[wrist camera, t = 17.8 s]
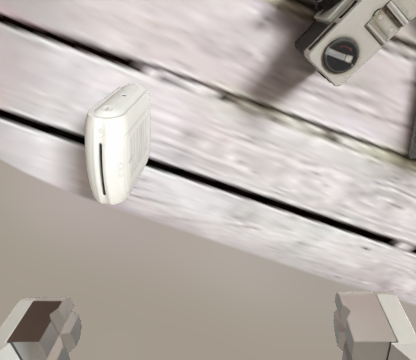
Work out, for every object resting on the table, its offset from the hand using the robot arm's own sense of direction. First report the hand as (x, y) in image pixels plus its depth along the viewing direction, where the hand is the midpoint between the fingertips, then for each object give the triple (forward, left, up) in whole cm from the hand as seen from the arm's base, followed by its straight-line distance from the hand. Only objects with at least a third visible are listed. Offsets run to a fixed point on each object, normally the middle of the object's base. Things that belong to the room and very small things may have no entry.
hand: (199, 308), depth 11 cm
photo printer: (+5, -12, -33) cm, 36 cm away
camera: (-7, +12, -33) cm, 36 cm away
